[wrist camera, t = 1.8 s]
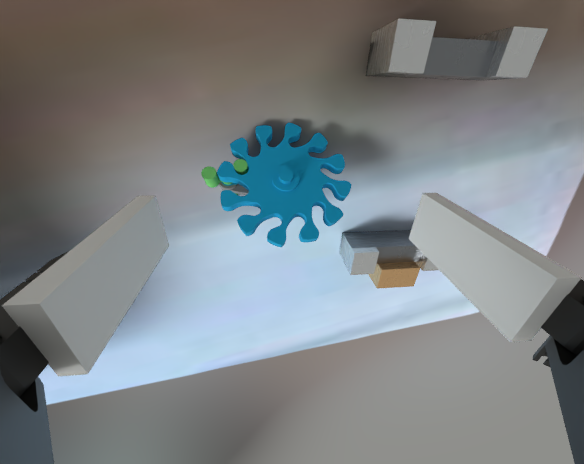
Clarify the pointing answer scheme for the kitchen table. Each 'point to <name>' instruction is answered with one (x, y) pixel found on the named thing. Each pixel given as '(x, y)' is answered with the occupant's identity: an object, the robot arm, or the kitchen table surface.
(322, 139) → the gear
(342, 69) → the kitchen table surface
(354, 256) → the support blocks
